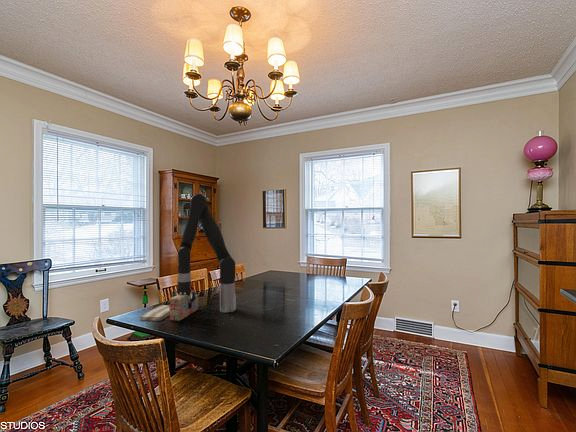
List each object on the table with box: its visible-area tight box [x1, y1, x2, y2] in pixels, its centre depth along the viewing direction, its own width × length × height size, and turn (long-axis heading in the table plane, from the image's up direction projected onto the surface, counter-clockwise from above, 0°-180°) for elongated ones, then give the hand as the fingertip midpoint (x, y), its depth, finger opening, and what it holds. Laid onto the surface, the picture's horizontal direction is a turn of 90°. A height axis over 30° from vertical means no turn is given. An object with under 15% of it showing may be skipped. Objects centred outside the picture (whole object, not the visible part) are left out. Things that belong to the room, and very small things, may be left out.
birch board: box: [139, 304, 170, 322], centre depth 178 cm, size 12×22×2 cm, turn 174°
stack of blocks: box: [169, 293, 199, 322], centre depth 177 cm, size 21×6×12 cm, turn 168°
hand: (184, 308), depth 176 cm, fingers closed on stack of blocks, 6 cm apart
